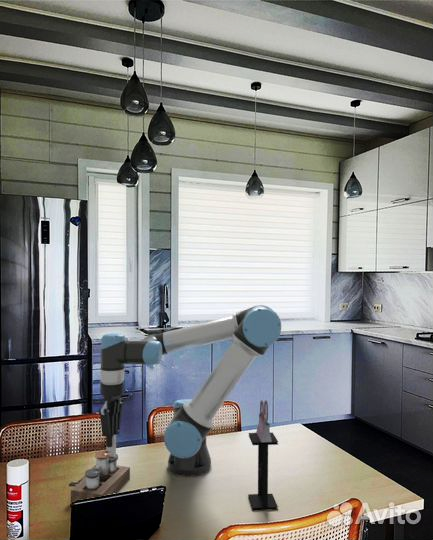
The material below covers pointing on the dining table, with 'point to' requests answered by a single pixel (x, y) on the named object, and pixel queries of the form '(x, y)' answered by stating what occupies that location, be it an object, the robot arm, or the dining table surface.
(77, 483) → the tactical tomahawk
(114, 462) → the plunger right
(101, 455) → the plunger mid
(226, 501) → the dining table surface
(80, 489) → the block
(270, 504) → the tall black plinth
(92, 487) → the plunger left
